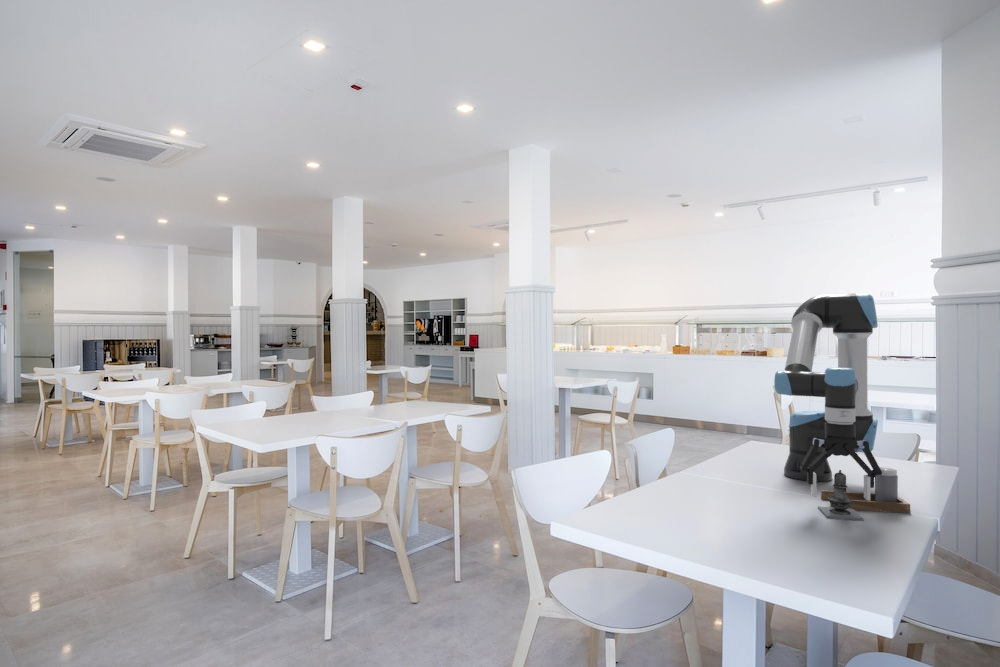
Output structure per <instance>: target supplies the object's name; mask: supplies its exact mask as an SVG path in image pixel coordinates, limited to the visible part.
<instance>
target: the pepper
mask: <svg viewBox="0 0 1000 667" xmlns="http://www.w3.org/2000/svg"><path fill="white" fill-rule="evenodd" d="M879 467H880V466H879ZM880 469H881V471H882V474H881V475H876V477H874V493H875V501H881V502H897V503H898V497H899V494H898V493H899V489H898V488H899V486H898V482H899V481H898V476H899V475H898V470H897V469H894V468H890V467H880Z"/></svg>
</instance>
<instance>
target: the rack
mask: <svg viewBox="0 0 1000 667" xmlns="http://www.w3.org/2000/svg"><path fill="white" fill-rule="evenodd" d="M833 494H834V490H828V489H827V490H824V489H820V499H821V500H825V501H826V500H829V499H828V497H831V496H833ZM846 495H847V498H848V499H851V500H852V502H851V505H850V507H849V508H851V509H853V510H855V511H873V512H885V513H902V514H911V504H910V503H909V502H907V501H906V500H904V499H903V498H901V497H899V496H898V503H897V502H881V501H875V492H874V493H873V492H870V500H866V499H865V498H864V492H861V491H860V492H858V491H846ZM829 504H830V503H829ZM829 507H833V506H832V505H831V504H830V505H829Z"/></svg>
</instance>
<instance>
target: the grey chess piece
mask: <svg viewBox="0 0 1000 667" xmlns="http://www.w3.org/2000/svg"><path fill="white" fill-rule="evenodd" d="M833 476H834V477H833V478H834V479H833V480H834V483H833V484H832V487H833V491H834V494H833V496H831V497H828V499H829V504H831V505H832V506H833V507H834V508H832V509H830V510H829V511H830V512H832V513H835V514H840V515H850V514H851V512H849V511H848V510H846V509H848V508H849V507H850V505H851V502H852V500H851V499H848V498H847V495H846V492H847V488H848V485H847V475H846V474H844V472H842V470H841V469H839V470H838V472H835V473H834V474H833Z"/></svg>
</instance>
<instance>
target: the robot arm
mask: <svg viewBox="0 0 1000 667" xmlns="http://www.w3.org/2000/svg"><path fill="white" fill-rule="evenodd" d="M875 304H876V303H875V300H874V297H873V296H872V295H871V294H870V293H861V292H859V293H858V292H855V293H840V294H839V293H837V294H836V293H835V294H818V295H816V296H815V295H814V296H813V297H811V298H809V299H807V300H806V301H805V302H803V303H802V304H800V306H799V307H798V308H797V309H796V310H795V311H794V313H793V316H792V318H791V322H790V324H791V325H790V326H791V328H792V333H791V338H790V343H789V348H788V352H787V357H786V362H785V365H784V366H785V367H784V369H783V370H777V371H776V372H775V374H774V383H773V384H774V391H775V393H777V394H778V395H784V396H785V395H786V396H793V397H794V396H796V397H816V398H817V397H818V398H824V410H806V411H797V412H793V413H791V415H790V416H789V423H788V424H789V425H788V428H789V446H788V447H789V452H788V453H789V454H788V457H787V460H786V462H785V465H784V468H783V474H784V476H786V477H788V478H791V479H795V480H800V481H806V482H807V484H808V485H810V495H811V496H812V497H813V498H817V482H827V481H831V480H832V479H833V472H832V469H831V466H830V462H829V461H828V458H830V457H831V456H832V455H833V456H835V457H837V456H843V457H848V456H850V457H852V459H853V460H854V461H855V462H856V464H858V465H859V467H860V468H861V469H862V470H863V471H864V472H865V473H866V474H863V493H864V498H865V499H866V500H870V493H871V489H873V488H874V489H875V477H876V475H881V474H882V471H881V469H880V466H879V464H878V462H877V461H876V460H877V459H876V458H875V457H874V455H873V453H872V451H874V446H875V440H876V436H877V428H878V423H879V420H878V419H877V418H875V417H874V414H873V412H872V411H871V410H870V409H869V408H868V338H869V337H871V335H872V334H873V332H874V331H873V329H876V328H878V325H879V324H878V317H877V311H876V305H875ZM824 328H825V329H826V328H827V329H832V333H833V335H834V336H836V338H837V365H838V366H837V367H827V368H825V370H824V372H823V371H813V370H812V369H813V365H814V359H815V353H816V346H817V340H818V334H819V333H820V332H821V331H822V329H824ZM873 417H874V418H873ZM858 453H863V454H864V456H865V458H866V459H867V461H868V463H869V465H870V467H871V468H872V469H871V468H870V467H869V466H868V465H867V463H866V462H865V461H864V460H863V459H862V458H861V457H860V456H859V455H858Z"/></svg>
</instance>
